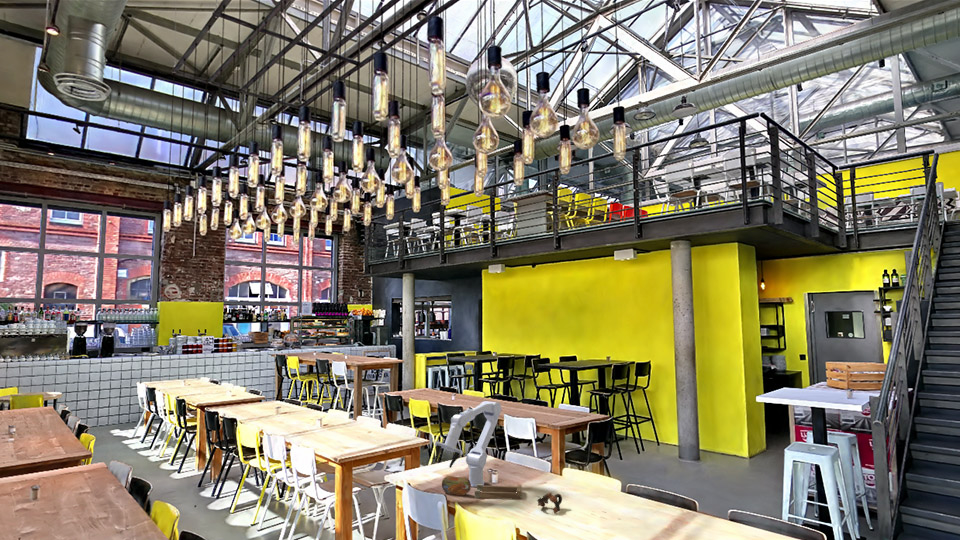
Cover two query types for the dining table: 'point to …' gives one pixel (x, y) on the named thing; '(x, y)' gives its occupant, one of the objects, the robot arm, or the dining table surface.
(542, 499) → the brown figurine
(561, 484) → the dining table surface
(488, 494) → the walnut rails
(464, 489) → the tin
